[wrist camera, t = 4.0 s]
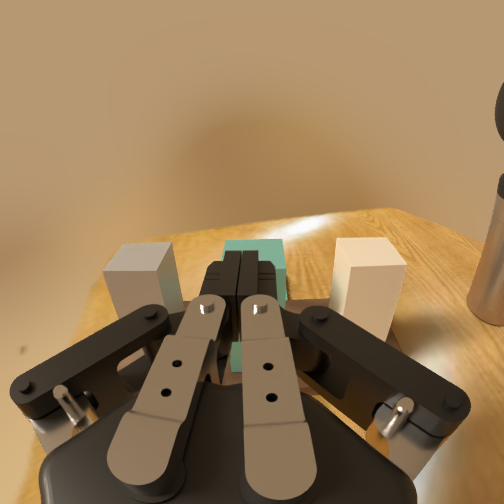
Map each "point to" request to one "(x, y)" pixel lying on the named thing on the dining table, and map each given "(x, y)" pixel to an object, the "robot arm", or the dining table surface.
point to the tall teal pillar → (275, 254)
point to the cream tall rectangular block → (367, 282)
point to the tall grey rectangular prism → (144, 279)
